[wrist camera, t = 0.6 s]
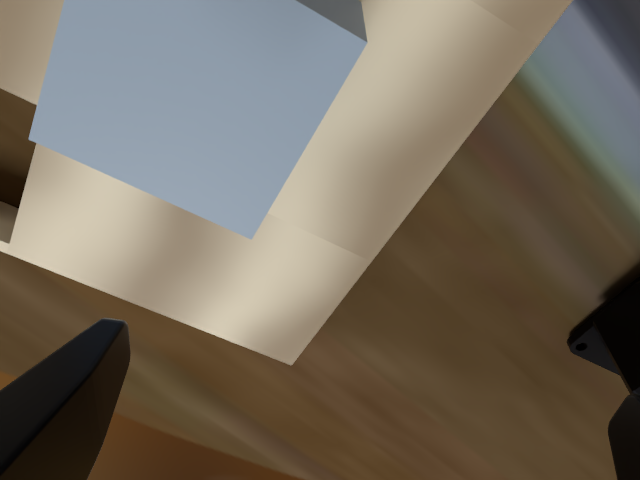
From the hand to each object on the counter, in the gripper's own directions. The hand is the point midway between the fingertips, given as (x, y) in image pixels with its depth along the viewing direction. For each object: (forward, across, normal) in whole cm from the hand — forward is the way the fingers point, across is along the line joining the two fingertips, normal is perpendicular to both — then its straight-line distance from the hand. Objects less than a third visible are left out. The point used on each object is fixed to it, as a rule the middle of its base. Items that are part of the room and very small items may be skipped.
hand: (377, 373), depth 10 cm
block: (+9, +5, -3) cm, 11 cm away
